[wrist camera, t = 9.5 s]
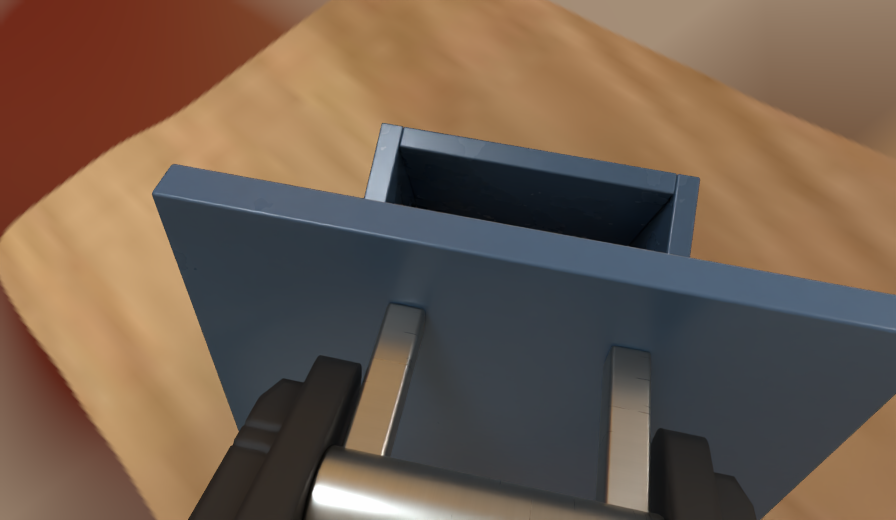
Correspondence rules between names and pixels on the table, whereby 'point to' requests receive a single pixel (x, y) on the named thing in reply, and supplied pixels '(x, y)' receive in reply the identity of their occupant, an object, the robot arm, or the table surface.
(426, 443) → the freezer lid
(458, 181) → the freezer
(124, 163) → the table surface
